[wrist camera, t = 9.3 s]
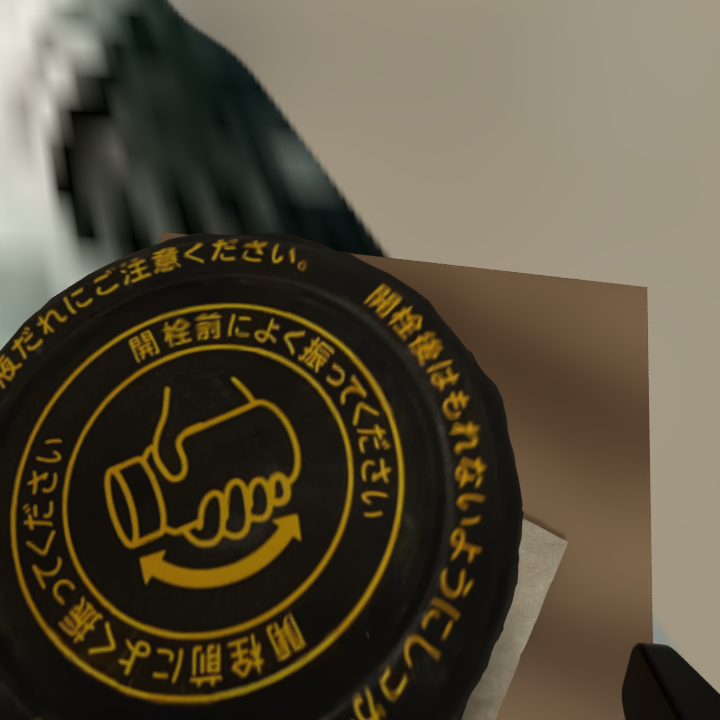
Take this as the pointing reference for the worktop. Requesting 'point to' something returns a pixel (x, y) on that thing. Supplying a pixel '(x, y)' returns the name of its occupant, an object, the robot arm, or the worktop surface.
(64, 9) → the worktop surface
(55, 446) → the yellow black cylinder
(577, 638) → the walnut board
